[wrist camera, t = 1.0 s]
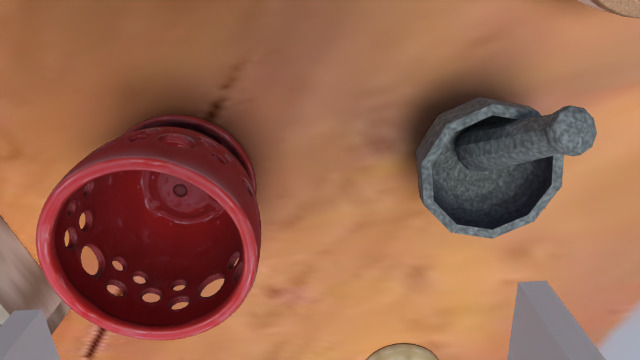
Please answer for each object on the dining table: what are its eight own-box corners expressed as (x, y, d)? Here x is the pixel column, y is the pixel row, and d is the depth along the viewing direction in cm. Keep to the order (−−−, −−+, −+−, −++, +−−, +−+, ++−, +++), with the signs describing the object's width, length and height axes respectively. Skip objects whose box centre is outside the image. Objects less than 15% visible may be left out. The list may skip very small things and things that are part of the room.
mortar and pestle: (474, 214, 41) (535, 303, 30) (380, 167, 39) (408, 244, 28) (558, 99, 37) (663, 153, 26) (458, 42, 35) (526, 73, 24)
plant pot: (133, 255, 42) (70, 355, 31) (90, 110, 37) (-4, 168, 26) (281, 241, 42) (271, 337, 31) (258, 92, 36) (236, 144, 25)
